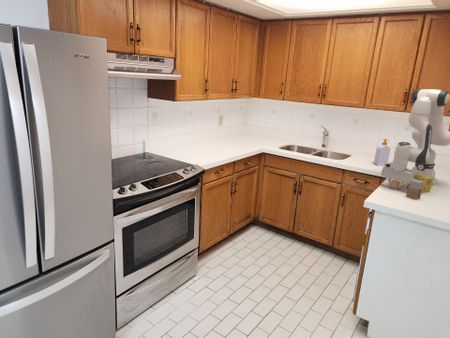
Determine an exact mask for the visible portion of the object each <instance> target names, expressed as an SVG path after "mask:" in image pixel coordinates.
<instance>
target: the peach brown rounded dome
mask: <svg viewBox="0 0 450 338" xmlns="http://www.w3.org/2000/svg"><path fill="white" fill-rule="evenodd" d="M400 184H401V181H398V180H394V179H391V185H389V186H390V187H389V188H390V189H391V190H397V191H398V190H399V189H400V188H399V187H398V185H400Z"/></svg>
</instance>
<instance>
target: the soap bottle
mask: <svg viewBox="0 0 450 338" xmlns="http://www.w3.org/2000/svg"><path fill="white" fill-rule="evenodd" d="M382 140H384V141H383V142H382V144H379V145H378V146H377V147H376V150H375V155H374V161H373V164H374V165H375V164H376V165H375V166H378V165H381V166H380V167H384V166H383V165H384V164H385V163H389V158H390V153H391V147H390V146H388V142H389V139H386V138H385V139H382Z"/></svg>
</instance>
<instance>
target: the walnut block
mask: <svg viewBox="0 0 450 338" xmlns="http://www.w3.org/2000/svg"><path fill="white" fill-rule="evenodd" d="M421 192H422V189H420V190H414V189H411V188H407V191H406V194H405V197H406V198H409V199H412V200H415V201H416V200H419V199H420V198H421V196H422V193H421Z"/></svg>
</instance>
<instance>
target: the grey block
mask: <svg viewBox="0 0 450 338" xmlns="http://www.w3.org/2000/svg"><path fill="white" fill-rule="evenodd" d="M422 182H423V181H419V180H415V179H413V180H411V182H410V186H409V188H411V189H414V190H420V189H421V186H422Z"/></svg>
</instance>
